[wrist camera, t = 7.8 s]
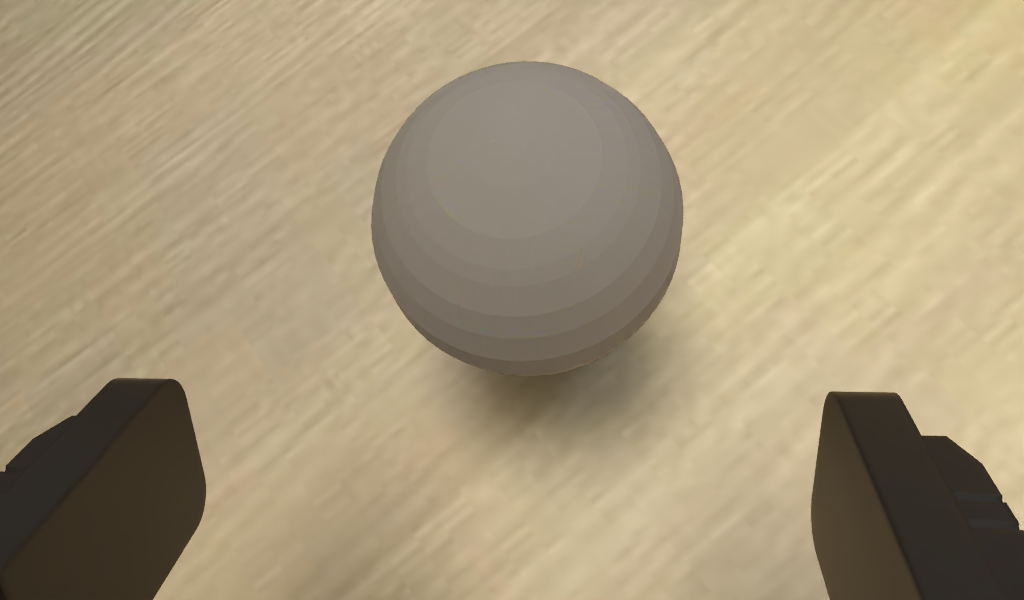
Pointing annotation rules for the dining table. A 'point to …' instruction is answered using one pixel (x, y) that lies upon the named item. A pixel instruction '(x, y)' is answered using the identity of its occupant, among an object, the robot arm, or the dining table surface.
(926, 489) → the robot arm
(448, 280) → the light bulb
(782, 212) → the dining table surface
